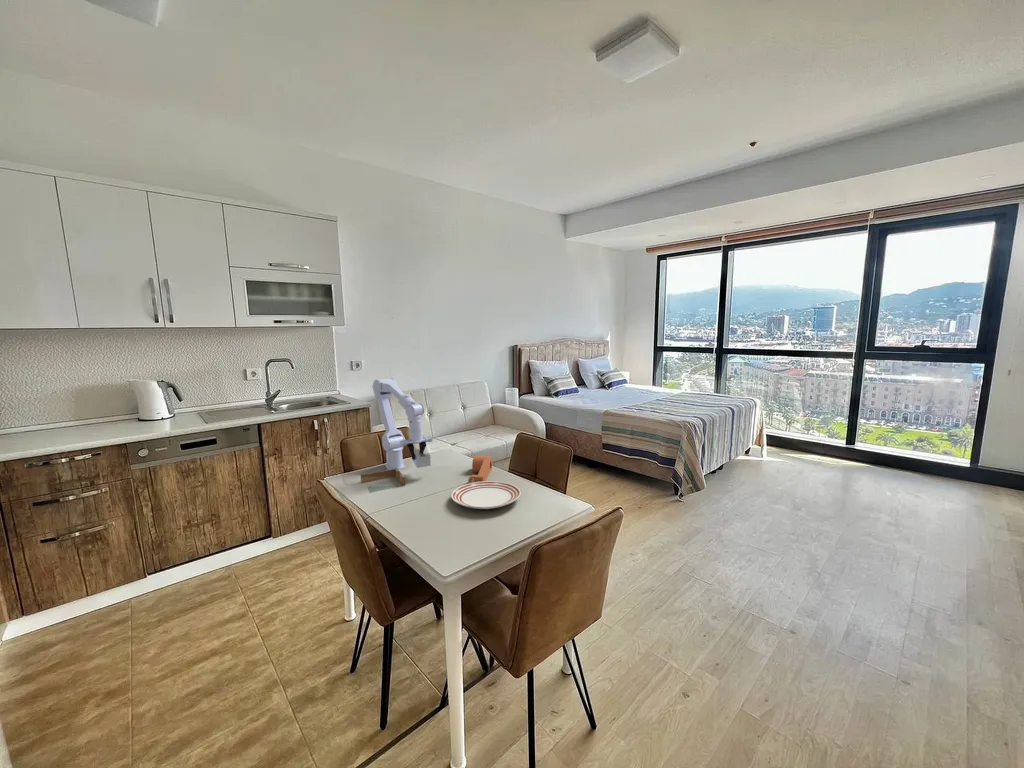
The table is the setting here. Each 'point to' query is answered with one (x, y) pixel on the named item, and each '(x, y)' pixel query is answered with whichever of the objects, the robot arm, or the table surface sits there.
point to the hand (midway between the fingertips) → (417, 458)
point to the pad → (381, 488)
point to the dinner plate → (486, 494)
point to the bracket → (421, 459)
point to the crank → (481, 468)
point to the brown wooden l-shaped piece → (383, 476)
